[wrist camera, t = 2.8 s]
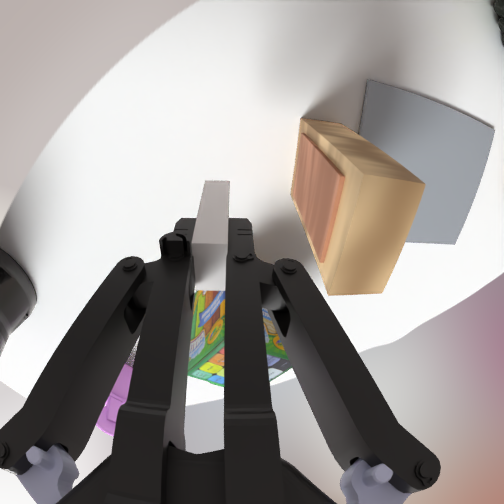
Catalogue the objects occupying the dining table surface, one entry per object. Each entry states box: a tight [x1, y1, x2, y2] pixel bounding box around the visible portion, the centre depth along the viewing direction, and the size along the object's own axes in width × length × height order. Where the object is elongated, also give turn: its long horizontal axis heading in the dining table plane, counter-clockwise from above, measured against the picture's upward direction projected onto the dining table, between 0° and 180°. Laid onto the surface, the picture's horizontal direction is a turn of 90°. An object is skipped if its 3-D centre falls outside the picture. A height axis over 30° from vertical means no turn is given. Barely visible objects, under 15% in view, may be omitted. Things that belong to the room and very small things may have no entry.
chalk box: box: [187, 290, 292, 387], centre depth 30 cm, size 9×9×15 cm
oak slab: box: [291, 118, 426, 296], centre depth 20 cm, size 4×8×14 cm, turn 176°
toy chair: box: [96, 364, 133, 436], centre depth 43 cm, size 8×9×15 cm
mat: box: [359, 80, 495, 245], centre depth 27 cm, size 20×18×1 cm
